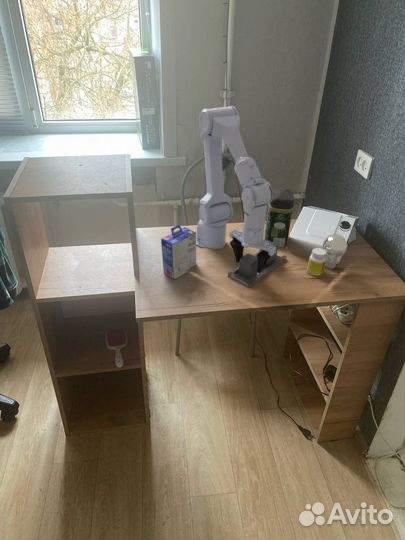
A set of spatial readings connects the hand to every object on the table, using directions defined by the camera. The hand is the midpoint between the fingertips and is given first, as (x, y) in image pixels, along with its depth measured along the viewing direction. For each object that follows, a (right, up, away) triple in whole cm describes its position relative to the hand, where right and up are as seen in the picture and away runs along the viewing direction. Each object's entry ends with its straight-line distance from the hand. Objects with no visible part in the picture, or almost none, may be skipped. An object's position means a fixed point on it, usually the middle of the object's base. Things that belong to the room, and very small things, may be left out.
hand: (249, 266), depth 116 cm
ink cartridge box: (-21, -1, +5) cm, 22 cm away
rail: (+3, -1, +5) cm, 6 cm away
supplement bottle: (+20, -3, +4) cm, 21 cm away
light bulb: (+26, -1, +7) cm, 27 cm away
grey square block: (0, -3, +1) cm, 3 cm away
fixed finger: (+7, +2, +8) cm, 10 cm away
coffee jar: (+11, +8, +19) cm, 24 cm away
